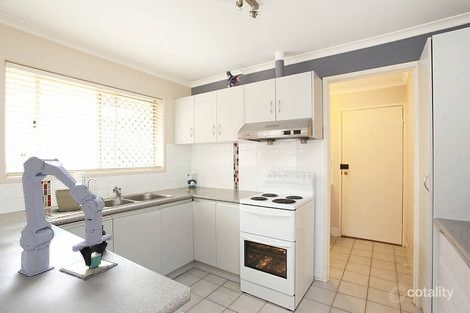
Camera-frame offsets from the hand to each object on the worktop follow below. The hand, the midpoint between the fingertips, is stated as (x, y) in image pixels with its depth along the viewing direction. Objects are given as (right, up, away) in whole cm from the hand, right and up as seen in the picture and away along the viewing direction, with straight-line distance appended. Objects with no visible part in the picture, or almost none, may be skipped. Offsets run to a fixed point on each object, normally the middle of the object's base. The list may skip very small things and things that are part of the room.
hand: (93, 263), depth 90 cm
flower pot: (-88, -4, +108) cm, 139 cm away
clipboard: (-2, -2, +1) cm, 4 cm away
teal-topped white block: (0, -2, 0) cm, 2 cm away
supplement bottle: (-9, -3, +18) cm, 20 cm away
